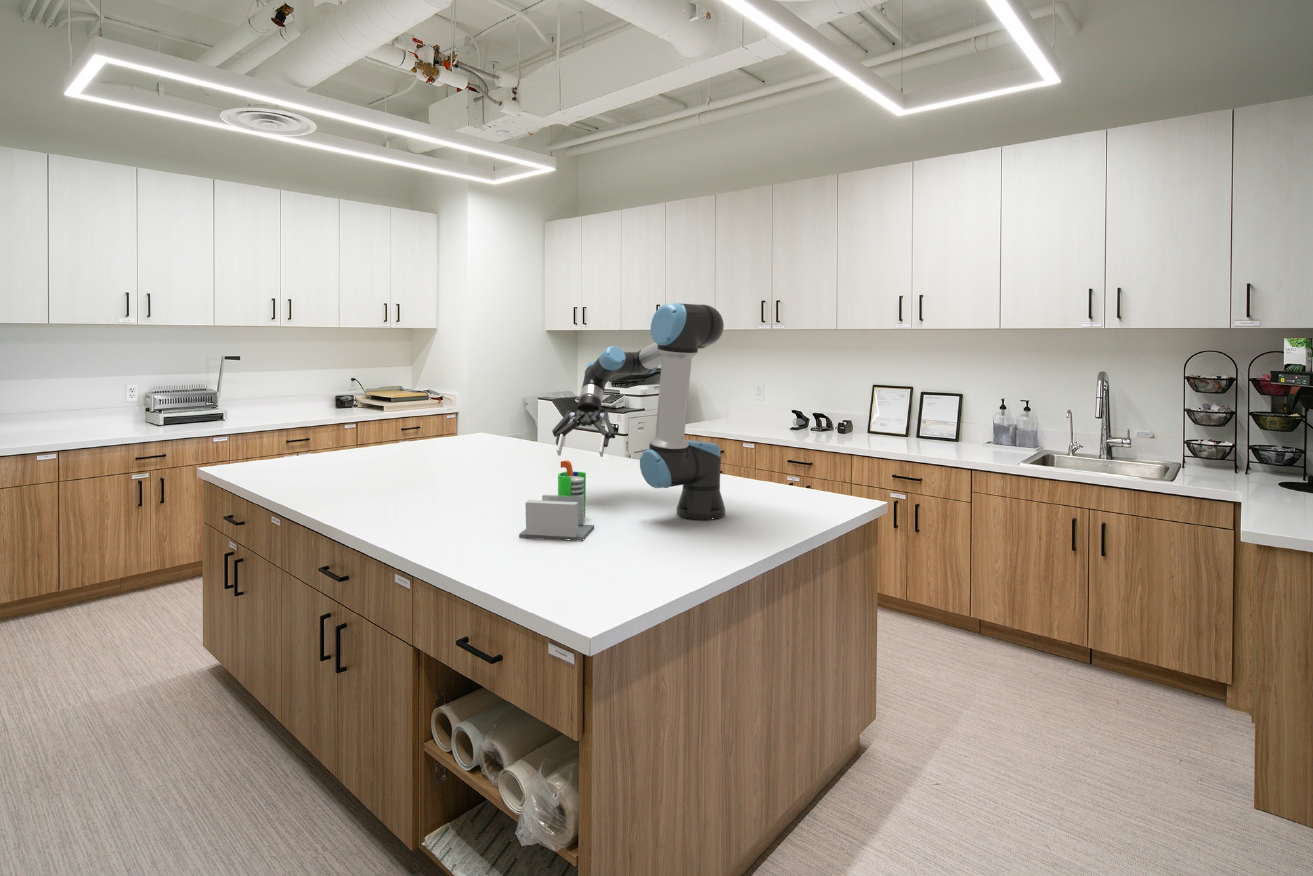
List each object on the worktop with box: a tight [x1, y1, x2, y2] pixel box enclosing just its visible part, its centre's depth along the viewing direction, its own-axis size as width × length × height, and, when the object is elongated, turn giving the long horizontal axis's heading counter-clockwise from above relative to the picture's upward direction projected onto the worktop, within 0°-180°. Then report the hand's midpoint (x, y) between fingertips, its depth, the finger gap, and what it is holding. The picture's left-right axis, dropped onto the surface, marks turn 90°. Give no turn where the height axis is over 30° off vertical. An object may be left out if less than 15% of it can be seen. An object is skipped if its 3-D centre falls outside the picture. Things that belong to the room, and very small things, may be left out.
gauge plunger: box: [541, 494, 585, 525], centre depth 202 cm, size 15×4×8 cm, turn 82°
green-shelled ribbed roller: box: [557, 460, 587, 521], centre depth 211 cm, size 9×8×18 cm
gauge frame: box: [518, 499, 595, 542], centre depth 197 cm, size 18×13×10 cm
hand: (579, 453), depth 220 cm, fingers open, 13 cm apart
